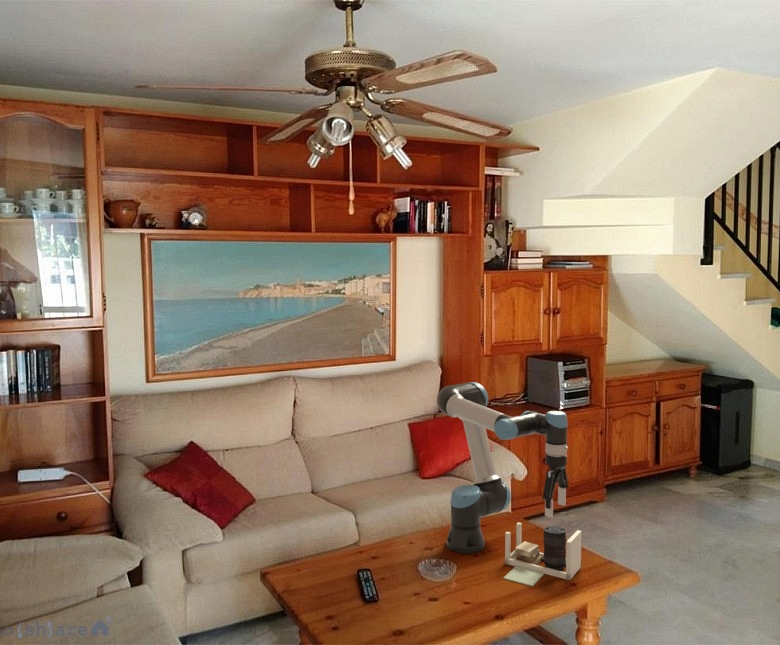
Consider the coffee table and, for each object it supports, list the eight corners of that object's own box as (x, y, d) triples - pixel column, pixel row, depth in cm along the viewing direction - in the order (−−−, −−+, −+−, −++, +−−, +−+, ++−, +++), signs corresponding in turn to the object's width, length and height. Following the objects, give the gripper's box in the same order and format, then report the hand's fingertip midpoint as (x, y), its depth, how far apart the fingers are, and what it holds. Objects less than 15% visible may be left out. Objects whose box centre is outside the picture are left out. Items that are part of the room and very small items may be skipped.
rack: (505, 563, 263) (505, 527, 261) (517, 552, 273) (518, 517, 271) (570, 580, 249) (570, 542, 248) (580, 567, 259) (581, 531, 258)
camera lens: (563, 563, 262) (564, 525, 261) (567, 573, 254) (567, 534, 253) (541, 563, 263) (542, 524, 261) (544, 573, 255) (545, 533, 253)
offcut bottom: (513, 565, 263) (513, 558, 263) (521, 557, 270) (521, 551, 270) (533, 570, 259) (533, 563, 259) (541, 562, 266) (541, 556, 265)
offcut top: (515, 552, 263) (515, 547, 262) (524, 546, 268) (524, 541, 268) (529, 557, 259) (529, 552, 259) (538, 550, 265) (538, 545, 264)
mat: (503, 578, 251) (503, 577, 251) (515, 567, 260) (515, 565, 260) (532, 586, 245) (532, 585, 245) (544, 574, 254) (544, 573, 254)
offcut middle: (516, 559, 263) (516, 553, 262) (521, 552, 269) (521, 546, 269) (534, 563, 259) (534, 556, 259) (539, 555, 265) (539, 549, 265)
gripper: (554, 464, 242) (553, 523, 244) (577, 447, 262) (576, 501, 265) (533, 461, 246) (533, 519, 248) (558, 444, 267) (557, 498, 269)
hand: (555, 510), depth 256 cm, fingers open, 13 cm apart
